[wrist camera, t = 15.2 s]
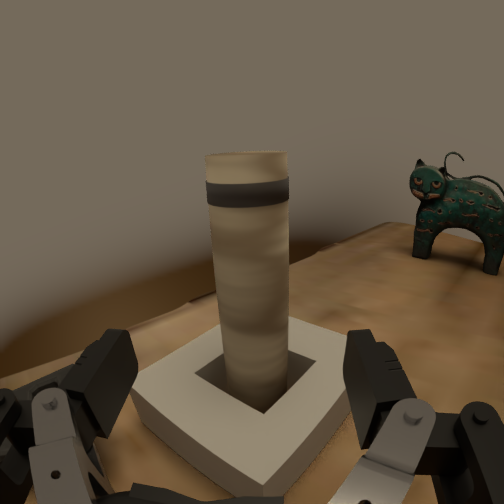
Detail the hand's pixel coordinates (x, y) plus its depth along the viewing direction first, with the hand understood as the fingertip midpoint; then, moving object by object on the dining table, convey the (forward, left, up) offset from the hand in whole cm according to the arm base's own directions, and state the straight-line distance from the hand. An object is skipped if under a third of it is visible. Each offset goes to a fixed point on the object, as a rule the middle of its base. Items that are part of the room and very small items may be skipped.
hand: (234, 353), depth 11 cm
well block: (-7, -5, -14) cm, 16 cm away
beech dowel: (-7, -5, -14) cm, 16 cm away
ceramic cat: (-52, +5, -14) cm, 54 cm away
